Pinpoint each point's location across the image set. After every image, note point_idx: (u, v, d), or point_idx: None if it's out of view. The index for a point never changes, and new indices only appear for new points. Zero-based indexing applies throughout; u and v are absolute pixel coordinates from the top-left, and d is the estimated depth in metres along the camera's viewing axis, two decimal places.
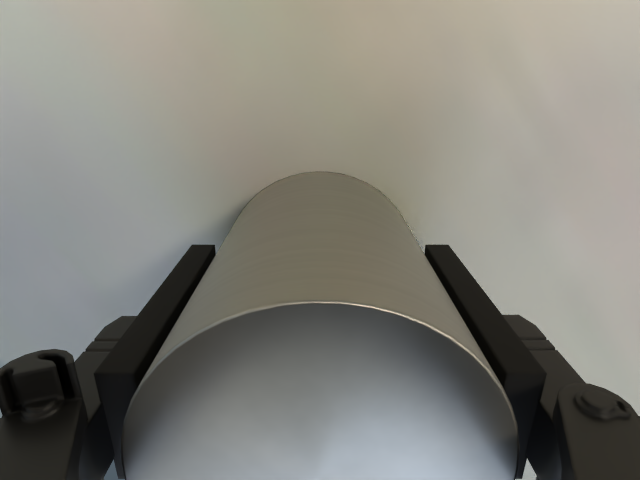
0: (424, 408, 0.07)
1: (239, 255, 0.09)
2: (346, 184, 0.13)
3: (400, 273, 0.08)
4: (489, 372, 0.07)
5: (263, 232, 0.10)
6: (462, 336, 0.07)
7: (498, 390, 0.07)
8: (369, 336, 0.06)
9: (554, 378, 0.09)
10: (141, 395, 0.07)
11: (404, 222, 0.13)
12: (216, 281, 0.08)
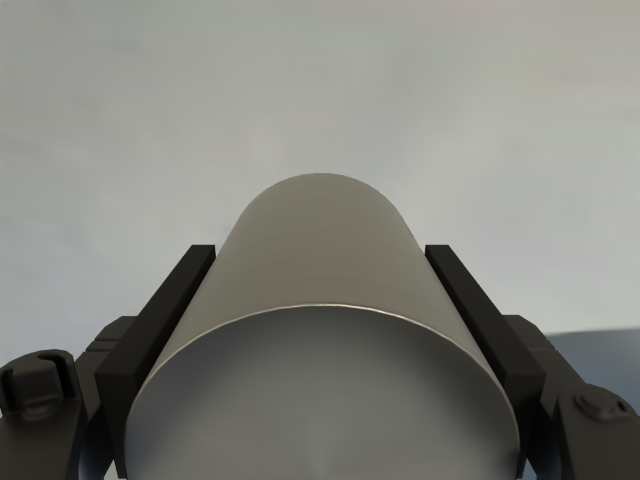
0: (425, 410, 0.07)
1: (241, 257, 0.09)
2: (347, 186, 0.13)
3: (401, 276, 0.08)
4: (490, 375, 0.07)
5: (264, 234, 0.10)
6: (463, 339, 0.07)
7: (499, 392, 0.07)
8: (369, 338, 0.06)
9: (554, 378, 0.09)
10: (143, 397, 0.07)
11: (405, 223, 0.13)
12: (217, 283, 0.08)
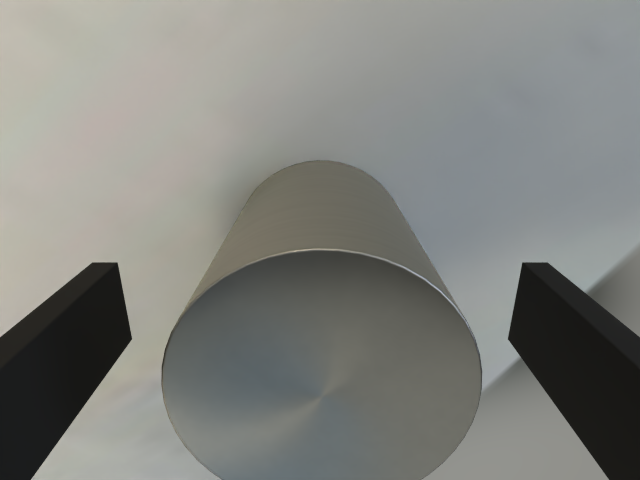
0: (404, 338, 0.09)
1: (254, 224, 0.11)
2: (344, 170, 0.15)
3: (386, 235, 0.10)
4: (455, 308, 0.08)
5: (273, 207, 0.11)
6: (434, 281, 0.09)
7: (463, 323, 0.09)
8: (360, 278, 0.08)
9: None
10: (180, 327, 0.09)
11: (395, 204, 0.15)
12: (236, 243, 0.10)
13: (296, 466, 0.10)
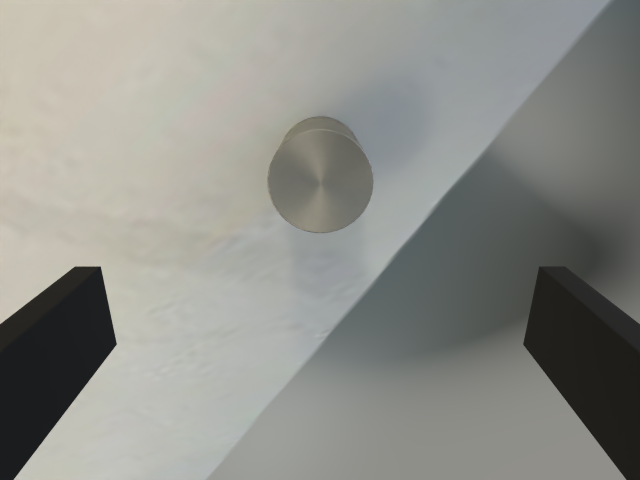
0: (347, 161, 0.27)
1: (296, 131, 0.29)
2: (330, 119, 0.34)
3: (342, 131, 0.28)
4: (362, 150, 0.27)
5: (302, 127, 0.30)
6: (356, 142, 0.27)
7: (365, 155, 0.27)
8: (332, 139, 0.27)
9: None
10: (275, 156, 0.27)
11: (353, 134, 0.34)
12: (290, 135, 0.29)
13: (311, 213, 0.29)
